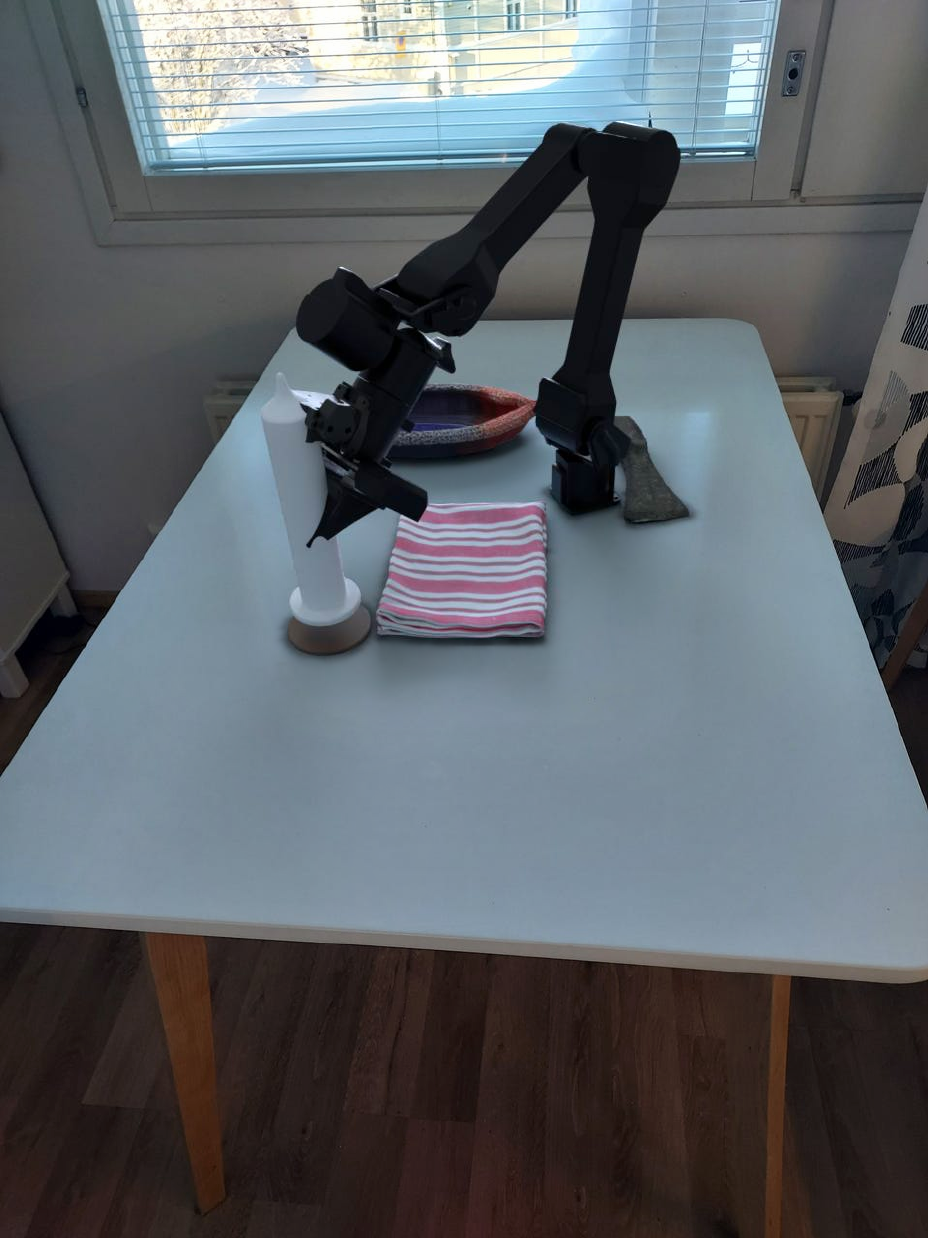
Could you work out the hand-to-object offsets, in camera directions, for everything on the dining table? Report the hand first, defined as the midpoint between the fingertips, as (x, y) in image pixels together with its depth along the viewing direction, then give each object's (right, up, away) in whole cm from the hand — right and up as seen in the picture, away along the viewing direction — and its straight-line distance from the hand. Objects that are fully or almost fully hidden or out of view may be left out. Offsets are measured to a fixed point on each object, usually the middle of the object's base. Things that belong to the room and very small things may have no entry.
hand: (301, 541), depth 86 cm
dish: (+10, +17, +37) cm, 42 cm away
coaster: (+2, -8, +8) cm, 11 cm away
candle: (+1, -6, +7) cm, 9 cm away
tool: (+37, +10, +27) cm, 47 cm away
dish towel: (+16, -2, +14) cm, 21 cm away
